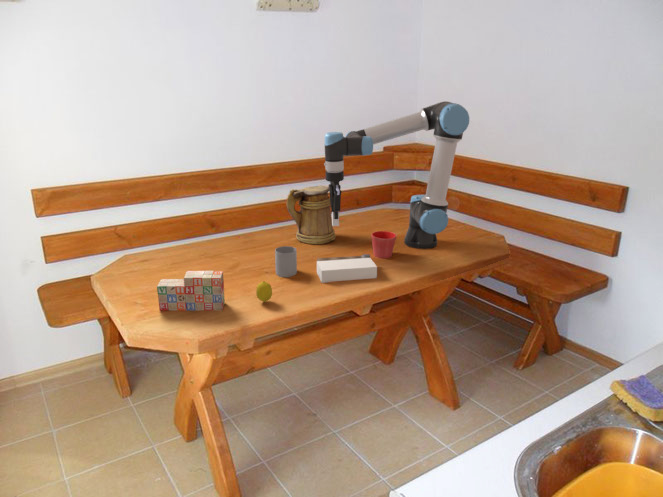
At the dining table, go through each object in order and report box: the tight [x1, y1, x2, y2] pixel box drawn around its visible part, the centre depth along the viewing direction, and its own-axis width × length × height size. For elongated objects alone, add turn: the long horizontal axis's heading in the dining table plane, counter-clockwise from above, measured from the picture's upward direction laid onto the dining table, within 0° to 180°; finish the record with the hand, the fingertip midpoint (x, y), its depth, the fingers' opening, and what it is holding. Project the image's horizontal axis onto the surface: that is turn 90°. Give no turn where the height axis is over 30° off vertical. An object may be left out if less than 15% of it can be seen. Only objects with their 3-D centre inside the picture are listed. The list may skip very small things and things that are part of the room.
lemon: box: [255, 281, 273, 303], centre depth 187 cm, size 6×6×8 cm
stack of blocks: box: [156, 270, 226, 312], centre depth 182 cm, size 21×6×12 cm, turn 93°
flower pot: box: [371, 230, 397, 259], centre depth 232 cm, size 11×11×10 cm
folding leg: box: [316, 253, 371, 262], centre depth 218 cm, size 22×4×5 cm, turn 100°
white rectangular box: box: [316, 257, 378, 284], centre depth 211 cm, size 22×10×5 cm, turn 102°
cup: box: [274, 245, 298, 278], centre depth 212 cm, size 8×8×10 cm
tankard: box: [286, 185, 336, 245], centre depth 248 cm, size 18×24×25 cm
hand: (335, 225), depth 227 cm, fingers closed
